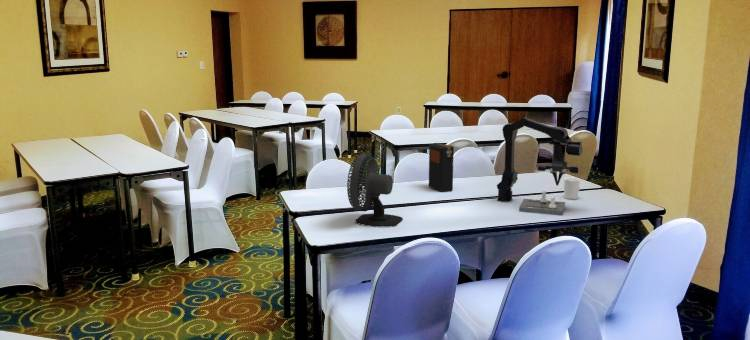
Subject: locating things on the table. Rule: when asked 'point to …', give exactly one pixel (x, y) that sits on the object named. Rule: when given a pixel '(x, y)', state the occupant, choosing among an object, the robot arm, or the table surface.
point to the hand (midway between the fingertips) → (557, 185)
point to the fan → (369, 191)
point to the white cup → (571, 188)
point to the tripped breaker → (543, 197)
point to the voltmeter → (441, 166)
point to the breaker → (552, 202)
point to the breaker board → (541, 207)
